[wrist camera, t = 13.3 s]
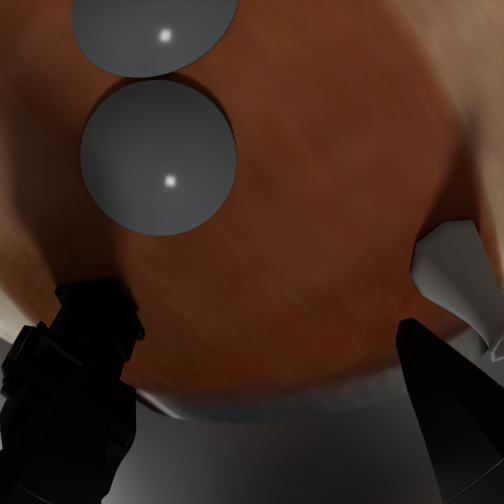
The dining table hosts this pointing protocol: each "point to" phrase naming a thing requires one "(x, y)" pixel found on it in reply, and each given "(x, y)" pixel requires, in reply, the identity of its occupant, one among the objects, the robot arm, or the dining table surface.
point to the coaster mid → (149, 33)
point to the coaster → (158, 157)
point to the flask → (461, 280)
